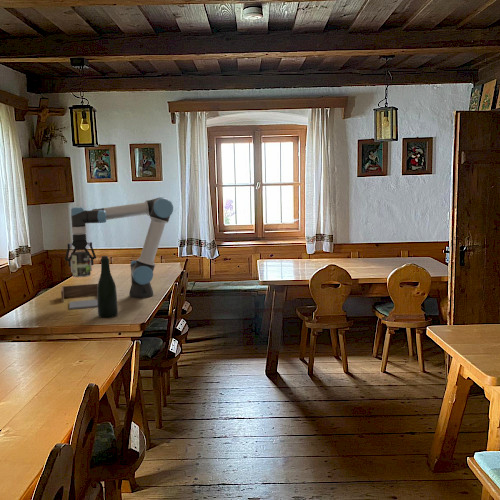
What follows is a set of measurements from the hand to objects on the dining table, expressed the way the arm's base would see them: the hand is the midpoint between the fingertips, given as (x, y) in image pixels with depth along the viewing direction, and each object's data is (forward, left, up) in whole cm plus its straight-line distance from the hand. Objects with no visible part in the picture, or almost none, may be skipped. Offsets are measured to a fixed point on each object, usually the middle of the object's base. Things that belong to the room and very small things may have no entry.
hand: (81, 271), depth 299 cm
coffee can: (0, 0, -3) cm, 3 cm away
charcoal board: (0, 0, -21) cm, 21 cm away
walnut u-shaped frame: (+13, -15, -21) cm, 29 cm away
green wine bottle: (-29, +16, -21) cm, 39 cm away
